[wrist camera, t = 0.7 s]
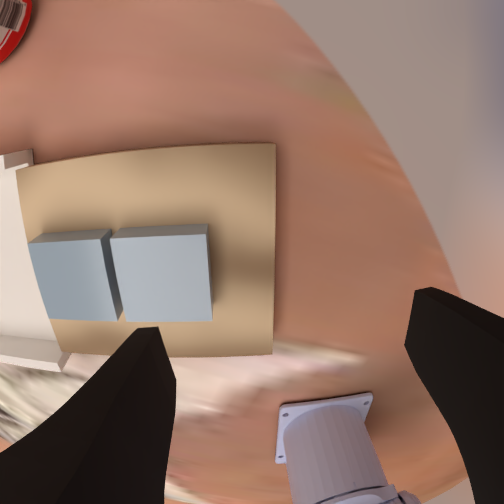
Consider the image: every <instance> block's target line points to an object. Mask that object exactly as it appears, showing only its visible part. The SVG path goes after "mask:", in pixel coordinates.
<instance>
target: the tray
mask: <svg viewBox="0 0 504 504" xmlns="http://www.w3.org/2000/svg"><path fill="white" fill-rule="evenodd" d="M31 165H34V163H33V152H32V149H28V150H23V151H18V152H13V153H9V154H4V155H1V156H0V362H3V363H8V364H13V365H19V366H24V367H30V368H36V369H43V370H50V371H57V372H61V371H62V370H63V368H64V366H65V364H66V362H67V360H68V359H69V357H70V355H71V352H62V351H61V349H60V346H59V344H58V341H57V339H56V336H55V333H54V331H53V328H52V325H51V323H50V320H49V318H48V315H47V312H46V309H45V306H44V303H43V300H42V297H41V294H40V290H39V287H38V284H37V280H36V276H35V273H34V269H33V265H32V261H31V257H30V253H29V249H28V245H27V238H26V234H25V229H24V224H23V218H22V213H21V207H20V201H19V194H18V187H17V180H16V171H15V170H17V169H21V168H24V167H27V166H31Z"/></svg>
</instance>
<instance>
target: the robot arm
mask: <svg viewBox="0 0 504 504" xmlns="http://www.w3.org/2000/svg"><path fill="white" fill-rule="evenodd" d="M404 346H405V348H406V350H407V353H408V355H409V357H410V360H411V362H412V364H413V366H414V368H415V370H416V372H417V374H418V376H419V377H420V379H421V381H422V382H423V384H424V386H425V387H426V389H427V391H428V392H429V394H430V395H431V397H432V399H433V400H434V402H435V404H436V405H437V407H438V408H439V410H440V412H441V413H442V415H443V417H444V419H445V420H446V422H447V424H448V425H449V427H450V429H451V431H452V433H453V435H454V438H455V440H456V442H457V445H458V447H459V450H460V453H461V455H462V458H463V461H464V464H465V467H466V470H467V473H468V476H469V479H470V483H471V487H472V491H473V495H474V500H475V504H504V318H502V317H500V316H498V315H496V314H493V313H491V312H489V311H487V310H485V309H482V308H480V307H478V306H476V305H474V304H472V303H469V302H467V301H465V300H463V299H461V298H459V297H457V296H454V295H452V294H450V293H447V292H445V291H442V290H440V289H437V288H434V287H428V288H424V289H419V290H415V293H414V299H413V304H412V310H411V315H410V320H409V325H408V330H407V335H406V339H405V344H404ZM372 400H373V395H372V393H363V394H358V395H352V396H346V397H340V398H333V399H326V400H319V401H311V402H302V403H293V404H284V405H282V406H281V407H280V408H279V419H278V431H277V442H276V454H275V462H276V463H278V464H280V463H286V467H287V472H288V478H289V484H290V490H291V495H292V501H293V504H421V502H420V501H419V499H418V498H417V497H416V496H415V495H414V494H412V493H409V492H407V491H405V490H403V491H401V492H398V493H397V491H396V489H395V486H394V484H391V485H389V484H388V482H387V479H386V476H385V474H384V471H383V469H382V466H381V464H380V461H379V459H378V456H377V454H376V451H375V449H374V446H373V444H372V441H371V439H370V436H369V434H368V431H367V429H366V426H365V424H364V421H365V419H366V416H367V413H368V411H369V408H370V405H371V403H372ZM175 408H176V378H175V375H174V372H173V369H172V366H171V364H170V361H169V358H168V355H167V352H166V349H165V346H164V343H163V339H162V336H161V333H160V330H159V327H158V326H157V327H144V328H137V329H136V330H135V331H134V332H133V333H132V334H131V335H130V336H129V337H128V338H127V339H126V340H125V341H124V342H123V343H122V345H121V346H120V347H119V348H118V349H117V350H116V351H115V352H114V353H113V354H112V356H111V357H110V358H109V359H108V360H107V361H106V362H105V363H104V364H103V365H102V366H101V367H100V369H99V370H98V371H97V372H96V373H95V374H94V375H93V376H92V377H91V378H90V379H89V380H88V381H87V382H86V383H85V384H84V385H83V386H82V387H81V388H80V389H79V390H78V391H77V392H76V393H75V394H74V395H73V396H72V397H71V398H70V399H69V400H68V401H67V402H66V403H65V404H64V405H63V406H62V407H61V408H59V409H58V410H57V411H56V412H55V413H54V414H53V415H51V416H50V417H49V418H48V419H47V420H45V421H44V422H43V423H42V424H41V425H39V426H38V427H37V428H36V429H34V430H33V431H32V432H30V433H29V434H27V435H26V436H24V437H23V438H22V439H20V440H19V441H17V442H16V443H14V444H13V445H11V446H10V447H9V448H7V449H6V450H4V451H2V452H1V453H0V504H164V489H165V477H166V470H167V463H168V456H169V450H170V443H171V437H172V430H173V424H174V417H175Z"/></svg>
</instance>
